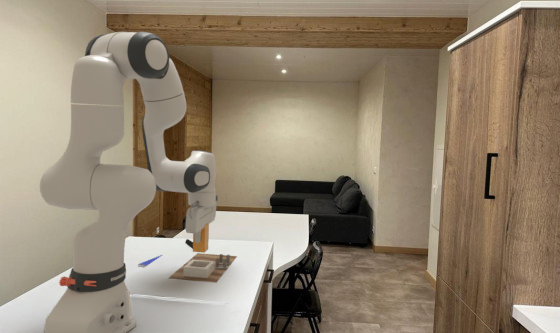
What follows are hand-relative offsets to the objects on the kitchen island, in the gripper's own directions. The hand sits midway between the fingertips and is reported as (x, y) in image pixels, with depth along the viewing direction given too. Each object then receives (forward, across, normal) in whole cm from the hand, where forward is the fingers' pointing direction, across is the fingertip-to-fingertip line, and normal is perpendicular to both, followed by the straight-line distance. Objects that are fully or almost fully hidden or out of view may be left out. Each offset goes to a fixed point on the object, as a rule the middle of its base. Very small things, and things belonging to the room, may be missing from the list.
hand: (200, 239), depth 124 cm
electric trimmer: (+14, +29, +13) cm, 34 cm away
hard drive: (+13, +9, +19) cm, 25 cm away
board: (+12, +6, 0) cm, 14 cm away
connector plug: (+4, 0, 0) cm, 4 cm away
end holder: (+11, 0, 0) cm, 11 cm away
